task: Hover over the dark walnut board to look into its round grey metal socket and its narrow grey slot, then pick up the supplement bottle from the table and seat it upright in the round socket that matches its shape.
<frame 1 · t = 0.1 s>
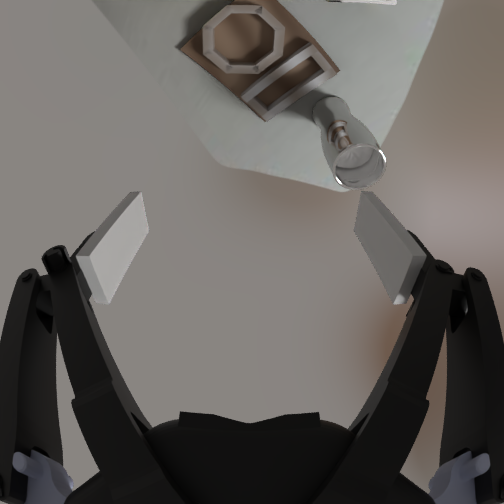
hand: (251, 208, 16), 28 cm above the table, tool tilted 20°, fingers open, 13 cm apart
socket board: (261, 53, 29), on the table
beer glass: (330, 112, 37), on the table
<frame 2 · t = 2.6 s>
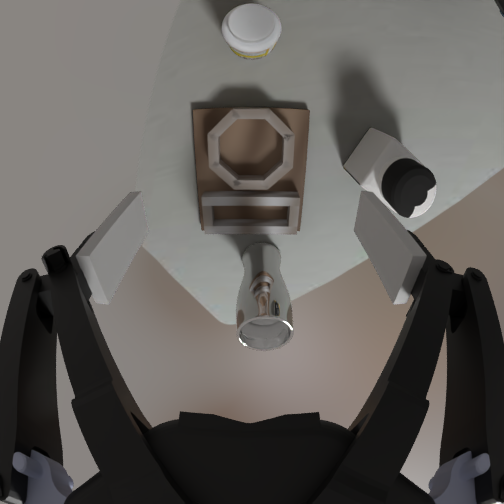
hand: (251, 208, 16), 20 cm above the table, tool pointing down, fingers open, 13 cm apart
medicine bottle: (374, 160, 33), on the table
socket board: (250, 170, 35), on the table
supplement bottle: (251, 40, 25), on the table
beer glass: (261, 257, 43), on the table
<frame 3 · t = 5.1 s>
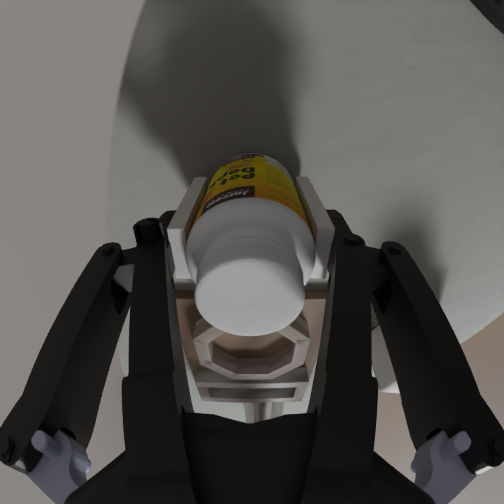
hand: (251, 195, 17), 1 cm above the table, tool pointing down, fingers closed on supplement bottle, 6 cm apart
medicine bottle: (402, 323, 27), on the table
socket board: (251, 349, 28), on the table
supplement bottle: (251, 189, 18), on the table, touching gripper
beer glass: (263, 399, 36), on the table
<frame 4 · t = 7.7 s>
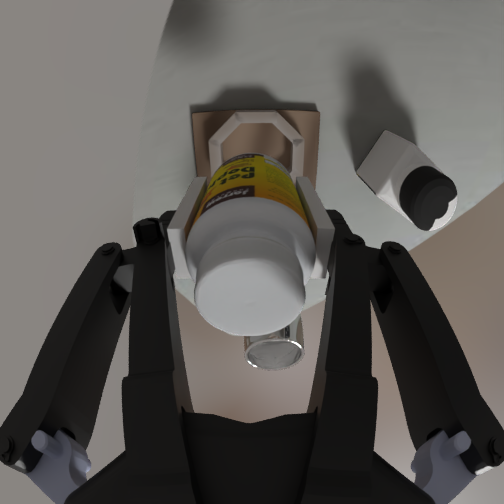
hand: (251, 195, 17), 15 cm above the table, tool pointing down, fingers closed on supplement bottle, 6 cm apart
medicine bottle: (388, 165, 31), on the table
socket board: (257, 178, 32), on the table
supplement bottle: (251, 189, 18), point 14 cm above the table, touching gripper
beer glass: (269, 269, 40), on the table
when the fingers open (4 cm above the table, at t = 10.1 s): supplement bottle drops 2 cm, resting on socket board.
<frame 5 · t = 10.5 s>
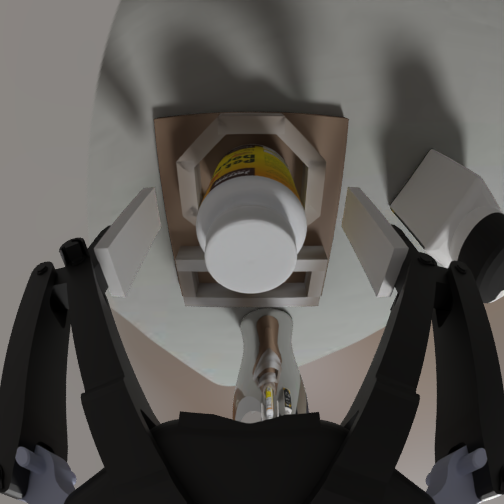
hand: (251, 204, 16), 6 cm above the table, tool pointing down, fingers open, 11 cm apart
medicine bottle: (429, 195, 21), on the table
socket board: (251, 214, 23), on the table
supplement bottle: (251, 177, 20), point 1 cm above the table, touching socket board
beer glass: (266, 323, 31), on the table
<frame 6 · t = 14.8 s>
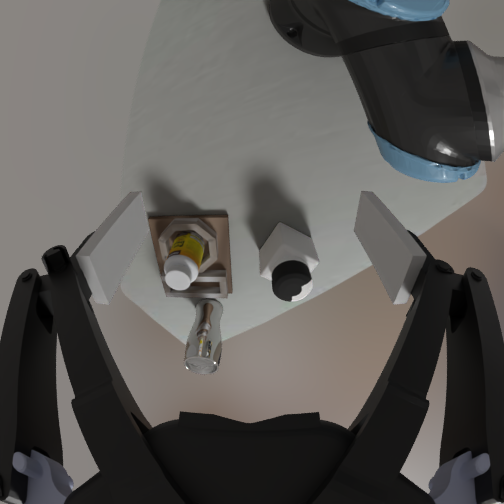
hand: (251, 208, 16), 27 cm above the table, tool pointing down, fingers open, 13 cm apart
medicine bottle: (285, 243, 49), on the table
socket board: (193, 256, 50), on the table
supplement bottle: (190, 242, 48), point 1 cm above the table, touching socket board
beer glass: (209, 307, 59), on the table
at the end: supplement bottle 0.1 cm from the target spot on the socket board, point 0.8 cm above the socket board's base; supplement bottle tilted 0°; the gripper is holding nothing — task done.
